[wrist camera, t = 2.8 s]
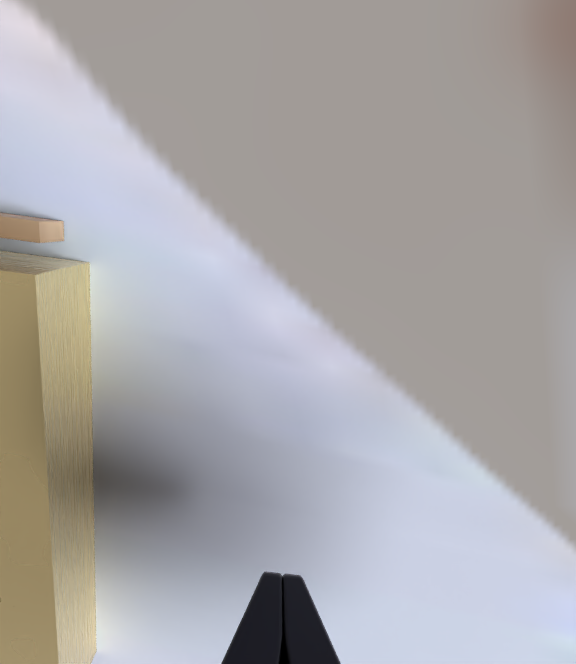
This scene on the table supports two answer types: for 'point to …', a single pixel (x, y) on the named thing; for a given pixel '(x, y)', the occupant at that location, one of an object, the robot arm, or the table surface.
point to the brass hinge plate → (46, 462)
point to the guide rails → (30, 228)
